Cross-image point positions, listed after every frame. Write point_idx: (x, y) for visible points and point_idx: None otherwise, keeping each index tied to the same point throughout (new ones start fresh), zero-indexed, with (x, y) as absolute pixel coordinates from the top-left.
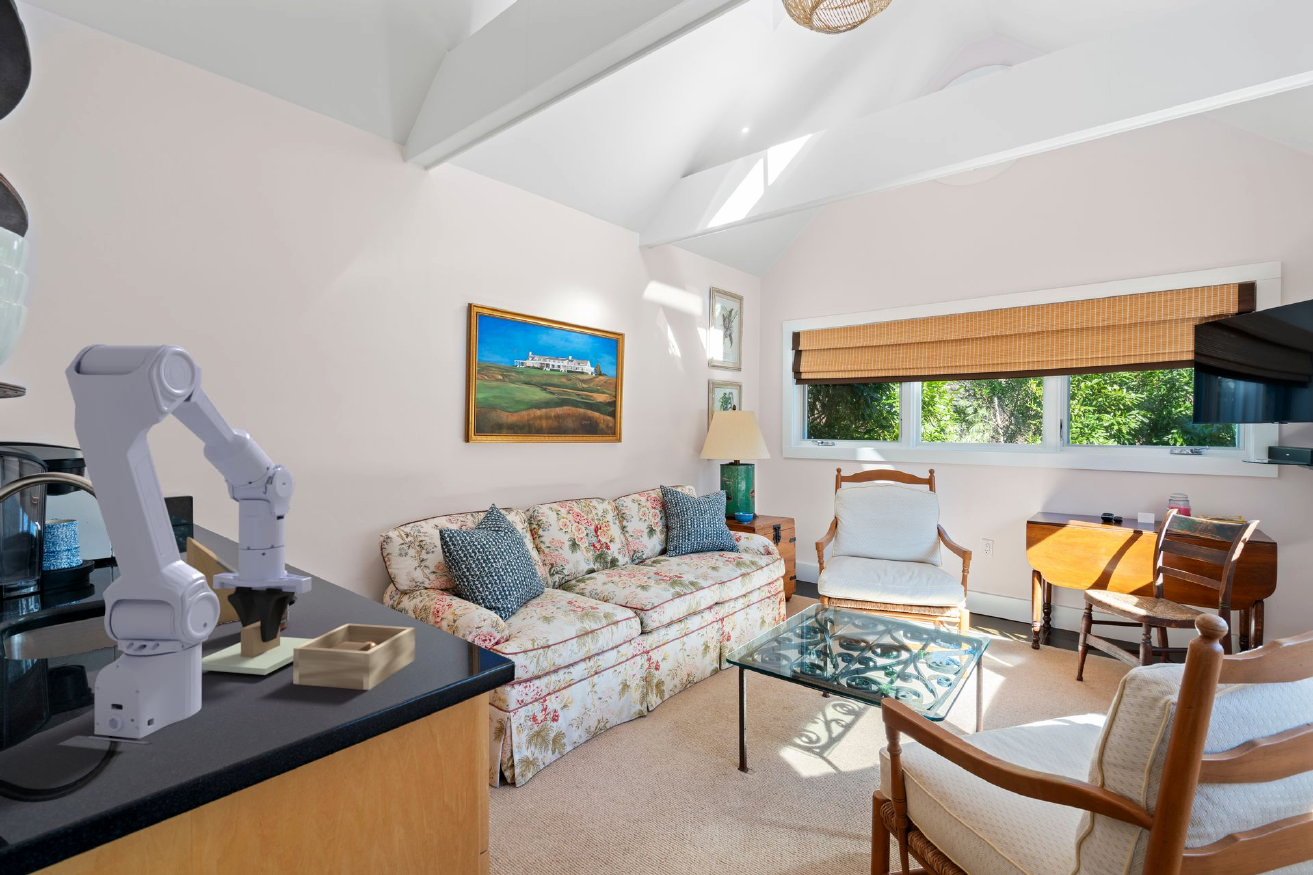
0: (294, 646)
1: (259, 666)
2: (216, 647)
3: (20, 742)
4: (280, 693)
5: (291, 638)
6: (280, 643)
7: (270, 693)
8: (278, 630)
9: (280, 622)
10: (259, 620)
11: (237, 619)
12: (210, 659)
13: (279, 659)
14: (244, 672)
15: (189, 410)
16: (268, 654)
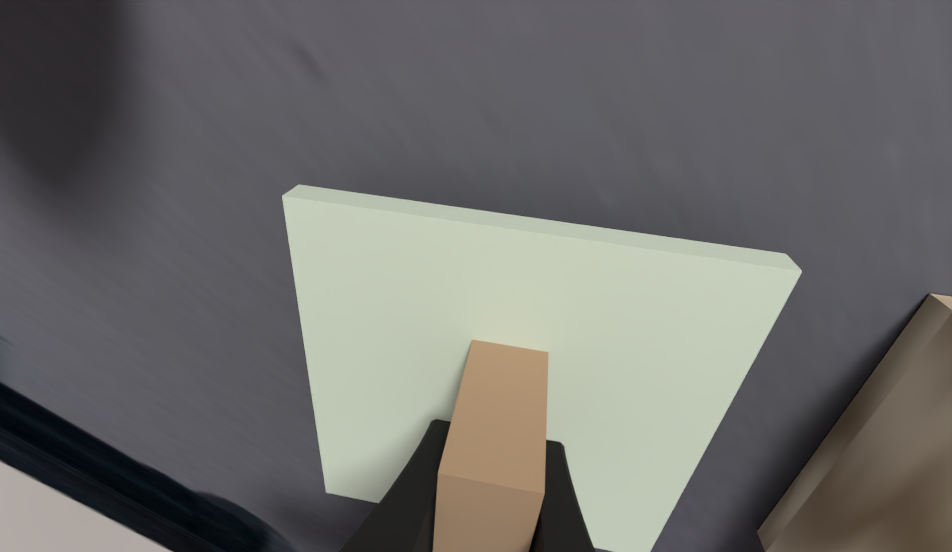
0: (643, 368)
1: (608, 539)
2: (90, 134)
3: None
4: (722, 544)
5: (547, 249)
6: (531, 327)
7: (688, 541)
8: (570, 475)
9: (583, 524)
10: (428, 520)
11: None
12: (363, 471)
13: (655, 498)
14: None
15: None
16: (567, 449)
